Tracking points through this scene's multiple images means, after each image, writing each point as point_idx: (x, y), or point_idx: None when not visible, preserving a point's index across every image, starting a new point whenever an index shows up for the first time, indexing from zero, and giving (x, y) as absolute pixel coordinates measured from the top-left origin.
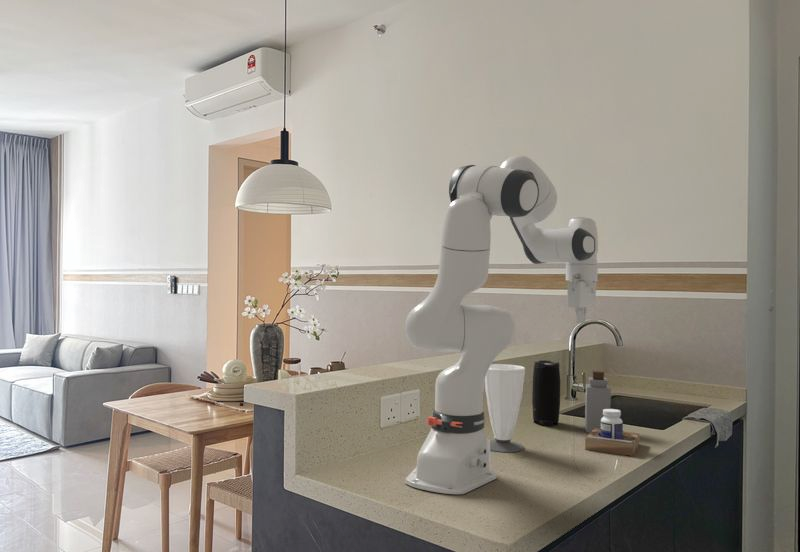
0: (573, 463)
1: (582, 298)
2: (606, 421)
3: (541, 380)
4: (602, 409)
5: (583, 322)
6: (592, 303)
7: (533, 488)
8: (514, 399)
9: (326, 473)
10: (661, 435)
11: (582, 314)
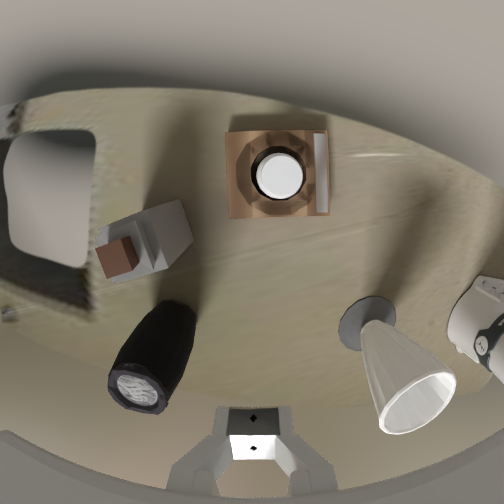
0: (405, 212)
1: (495, 495)
2: (301, 183)
3: (181, 373)
4: (171, 219)
5: (264, 407)
6: (34, 463)
7: (489, 233)
8: (417, 345)
9: (479, 383)
10: (135, 119)
11: (311, 450)
